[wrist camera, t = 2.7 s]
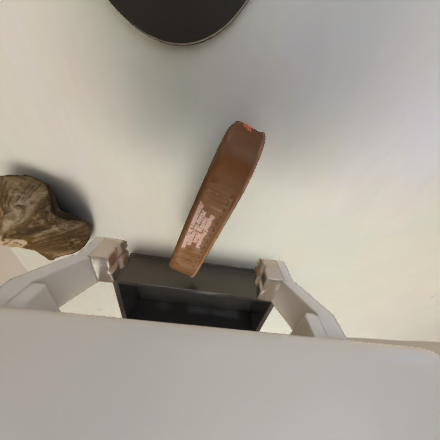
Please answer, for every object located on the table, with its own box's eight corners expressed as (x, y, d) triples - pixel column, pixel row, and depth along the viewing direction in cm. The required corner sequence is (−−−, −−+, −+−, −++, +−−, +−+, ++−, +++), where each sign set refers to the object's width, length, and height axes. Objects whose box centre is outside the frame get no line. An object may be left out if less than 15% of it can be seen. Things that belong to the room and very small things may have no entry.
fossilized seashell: (-38, 183, 17) (44, 247, 23) (-91, 215, 12) (30, 283, 18) (49, 160, 19) (101, 223, 25) (34, 179, 14) (102, 251, 21)
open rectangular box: (268, 271, 26) (277, 300, 22) (250, 310, 31) (254, 338, 27) (130, 252, 24) (111, 279, 20) (137, 296, 30) (124, 324, 26)
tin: (201, 242, 23) (189, 297, 16) (179, 234, 22) (157, 288, 15) (258, 131, 16) (287, 141, 8) (229, 115, 15) (232, 110, 8)
